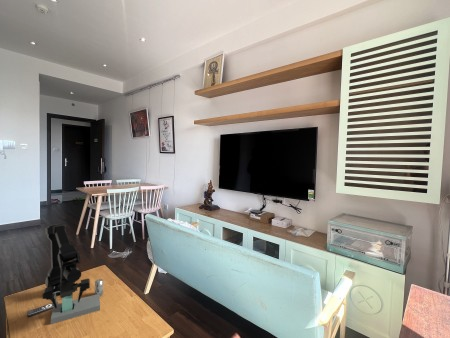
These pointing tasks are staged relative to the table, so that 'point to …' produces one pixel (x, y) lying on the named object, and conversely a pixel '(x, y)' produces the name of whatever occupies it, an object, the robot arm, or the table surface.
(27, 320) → the table surface
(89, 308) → the plate
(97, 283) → the round peg
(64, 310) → the square peg
